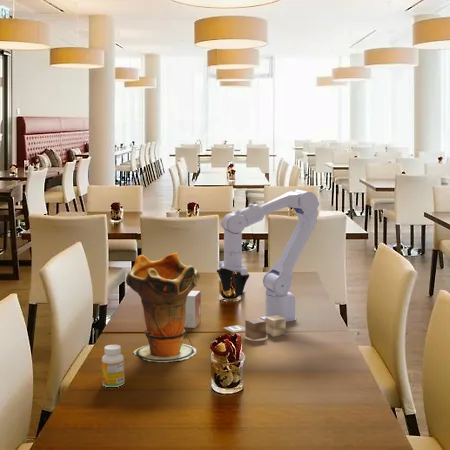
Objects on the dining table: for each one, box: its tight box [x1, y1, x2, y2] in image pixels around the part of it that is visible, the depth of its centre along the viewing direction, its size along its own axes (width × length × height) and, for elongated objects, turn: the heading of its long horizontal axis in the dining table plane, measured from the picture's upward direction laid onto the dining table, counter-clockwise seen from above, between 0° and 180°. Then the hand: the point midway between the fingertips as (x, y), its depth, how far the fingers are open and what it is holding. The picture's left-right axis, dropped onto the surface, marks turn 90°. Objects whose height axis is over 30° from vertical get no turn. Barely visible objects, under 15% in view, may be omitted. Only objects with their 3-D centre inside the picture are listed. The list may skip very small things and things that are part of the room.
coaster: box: [244, 335, 269, 342], centre depth 210 cm, size 7×7×1 cm
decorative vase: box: [125, 251, 201, 363], centre depth 195 cm, size 21×23×28 cm
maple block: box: [264, 315, 287, 338], centre depth 214 cm, size 4×4×5 cm
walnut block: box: [244, 317, 266, 340], centre depth 210 cm, size 4×4×5 cm
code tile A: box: [223, 324, 245, 333], centre depth 220 cm, size 6×6×1 cm
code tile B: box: [266, 333, 289, 339], centre depth 214 cm, size 6×6×1 cm
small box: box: [184, 290, 202, 329], centre depth 224 cm, size 8×6×10 cm
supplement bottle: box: [101, 344, 125, 388], centre depth 172 cm, size 5×5×10 cm
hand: (232, 293), depth 223 cm, fingers open, 7 cm apart
